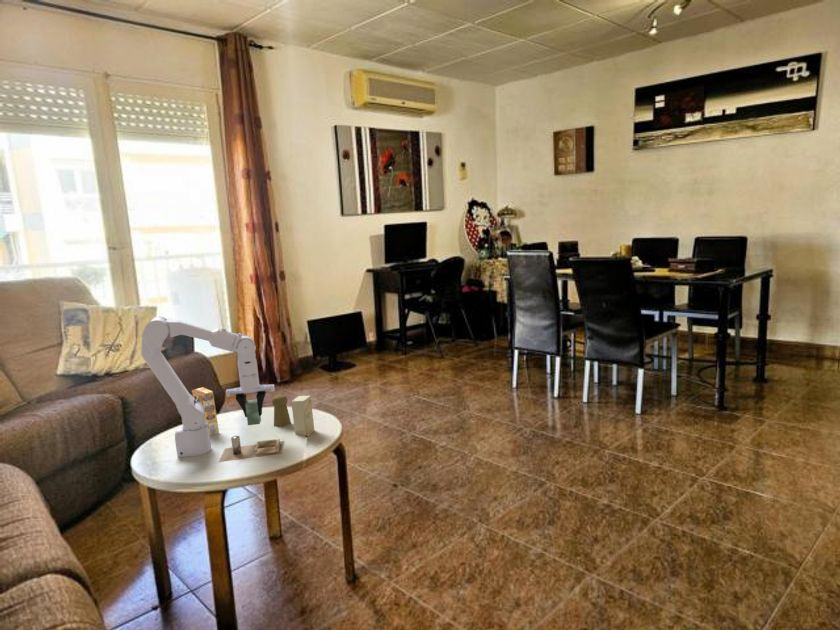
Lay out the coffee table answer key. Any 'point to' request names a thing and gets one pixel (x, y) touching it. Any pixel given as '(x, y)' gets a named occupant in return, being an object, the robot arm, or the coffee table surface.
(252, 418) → the peg
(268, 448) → the brown board
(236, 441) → the brushed metal cylinder
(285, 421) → the cork
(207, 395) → the candy box
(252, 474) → the coffee table surface
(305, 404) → the skincare box
